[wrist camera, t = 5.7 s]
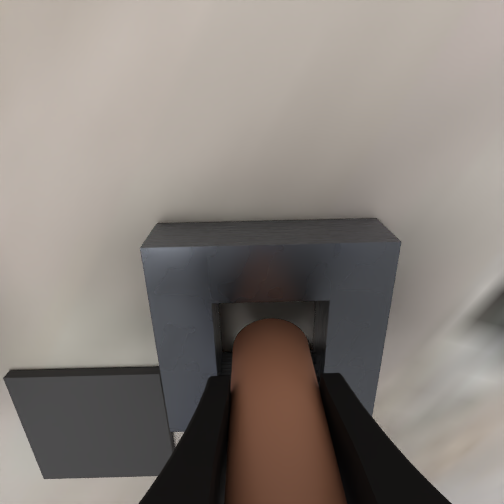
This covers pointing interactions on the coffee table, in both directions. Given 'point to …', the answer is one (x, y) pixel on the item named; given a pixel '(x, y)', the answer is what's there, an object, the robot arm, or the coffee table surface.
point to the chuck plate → (268, 296)
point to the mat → (94, 420)
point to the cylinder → (278, 422)
